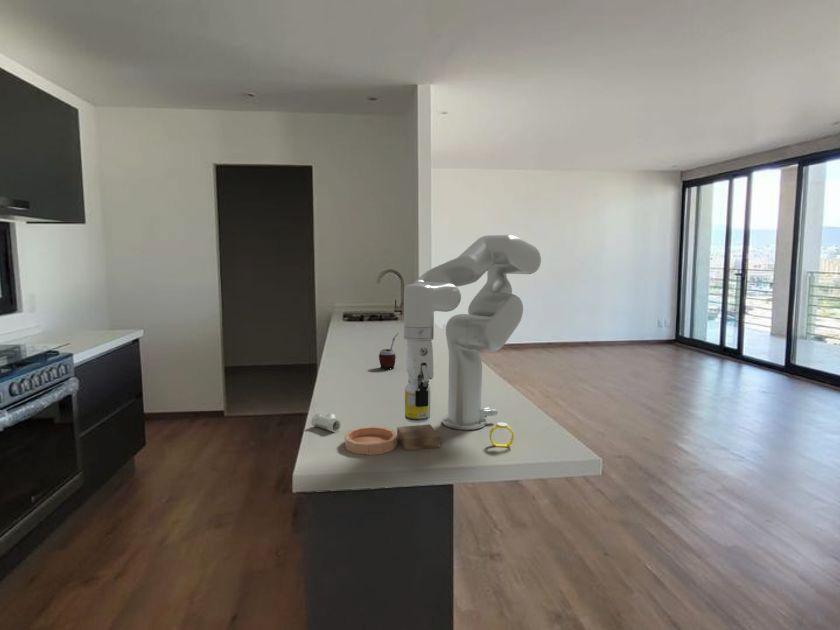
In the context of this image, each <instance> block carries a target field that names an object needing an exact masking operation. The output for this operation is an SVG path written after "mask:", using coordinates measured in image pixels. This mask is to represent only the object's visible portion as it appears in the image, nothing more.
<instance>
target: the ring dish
mask: <svg viewBox="0 0 840 630" xmlns="http://www.w3.org/2000/svg"><path fill="white" fill-rule="evenodd" d="M344 445H345V446H344V447H345V449H346V450H347V451H349V452H351V453H353V454H355V455H356V454H357V455H364V454H366V456H373V455H382V454H385V453H388V452H391V451H393V450H395V449H396V447H397V446H398V439H397V431H395V430H393V429H391V428H388V427H385V426H384V427H382V426H363V427H358V428H354V429H351V430H349V431H348V432H346V433H345V434H344Z"/></svg>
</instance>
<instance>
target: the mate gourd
mask: <svg viewBox="0 0 840 630" xmlns="http://www.w3.org/2000/svg"><path fill="white" fill-rule="evenodd" d="M398 335H399V332H397V333H396V334H395V335H394V336H393V338H392V342H391V346H390V348H384V349H381V350H380V351H379V354H378V361H379V365H380V367H379V369H381V368H385V369H383V370H384V371H387V370H389V369H388V368H391V369H390V370H394V369H395V364H396V358H397V357H396V352H395V351H394V349H393V345H394V342H395V340H396V337H397V336H398ZM393 368H394V369H393Z"/></svg>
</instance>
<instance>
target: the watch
mask: <svg viewBox="0 0 840 630" xmlns="http://www.w3.org/2000/svg"><path fill="white" fill-rule="evenodd" d="M496 429H507V430H509V431H510V433H511V438H510V440H509V442H507V443H505V444H504V443H496V442H495V441H494V440H493V439H492V434H493V433H494V431H495V430H496ZM514 436H515V435H514V431H513V430H512V428H511V427H510V426H509V425H508V423H507V422H501V421H500V422H496V424H495V425H494V426H492V428H491V429H490V431H489V440H490V442H491V444H492V445H493V446H494V447H496V448H508V447H510V446H511V445H512V444H513V441H514V439H515V438H514Z"/></svg>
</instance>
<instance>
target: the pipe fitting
mask: <svg viewBox="0 0 840 630" xmlns="http://www.w3.org/2000/svg"><path fill="white" fill-rule="evenodd" d="M341 425H342V424H341V420H339V419H337V416H336V415H335V414H334V413H327V414H326V415H325V416H324V415H322V414H320V413H316V414H315V415H313V416H312V418H311V426H313V427H315V428H317V429H323V430H326V431H329V432H331V433H334V434H336V433H338V432H339V431H340V430H341Z"/></svg>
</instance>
